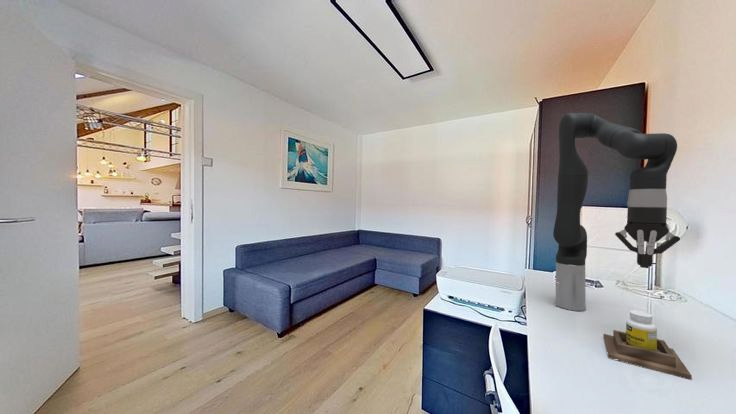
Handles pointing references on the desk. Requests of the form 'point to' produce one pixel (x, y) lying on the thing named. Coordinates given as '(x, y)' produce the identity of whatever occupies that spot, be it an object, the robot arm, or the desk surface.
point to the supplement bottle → (641, 331)
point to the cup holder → (645, 355)
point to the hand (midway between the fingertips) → (644, 267)
